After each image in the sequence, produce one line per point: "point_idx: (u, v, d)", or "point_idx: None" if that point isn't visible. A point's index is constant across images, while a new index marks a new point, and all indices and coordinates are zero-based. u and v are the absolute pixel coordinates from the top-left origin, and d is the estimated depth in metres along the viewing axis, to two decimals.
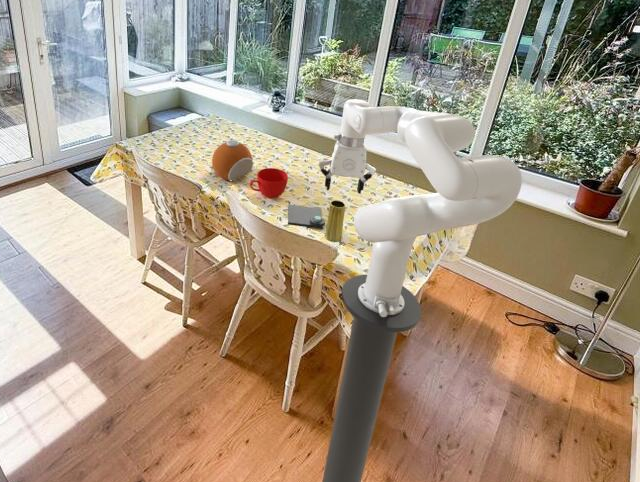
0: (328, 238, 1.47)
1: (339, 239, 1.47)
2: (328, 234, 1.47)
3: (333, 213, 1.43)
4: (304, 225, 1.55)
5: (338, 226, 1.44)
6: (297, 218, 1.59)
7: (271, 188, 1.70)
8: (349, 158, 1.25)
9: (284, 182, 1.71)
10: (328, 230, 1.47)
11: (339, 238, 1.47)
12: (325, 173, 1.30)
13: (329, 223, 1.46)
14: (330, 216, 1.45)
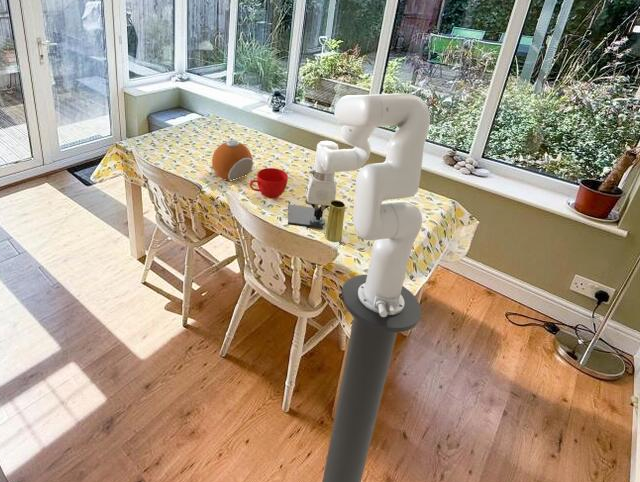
0: (328, 238, 1.47)
1: (339, 239, 1.47)
2: (328, 234, 1.47)
3: (333, 213, 1.43)
4: (304, 225, 1.55)
5: (338, 226, 1.44)
6: (297, 218, 1.59)
7: (271, 188, 1.70)
8: (322, 190, 1.49)
9: (284, 182, 1.71)
10: (328, 230, 1.47)
11: (339, 238, 1.47)
12: (313, 207, 1.54)
13: (329, 223, 1.46)
14: (330, 216, 1.45)
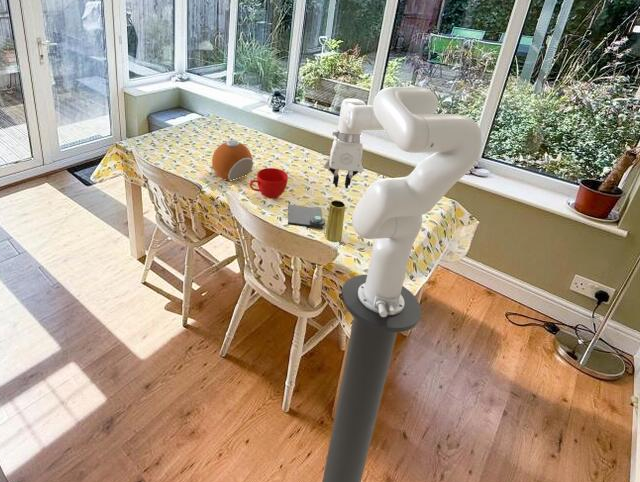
0: (328, 238, 1.47)
1: (339, 239, 1.47)
2: (328, 234, 1.47)
3: (333, 213, 1.43)
4: (304, 225, 1.55)
5: (338, 226, 1.44)
6: (297, 218, 1.59)
7: (271, 188, 1.70)
8: (346, 153, 1.35)
9: (284, 182, 1.71)
10: (328, 230, 1.47)
11: (339, 238, 1.47)
12: None
13: (329, 223, 1.46)
14: (330, 216, 1.45)
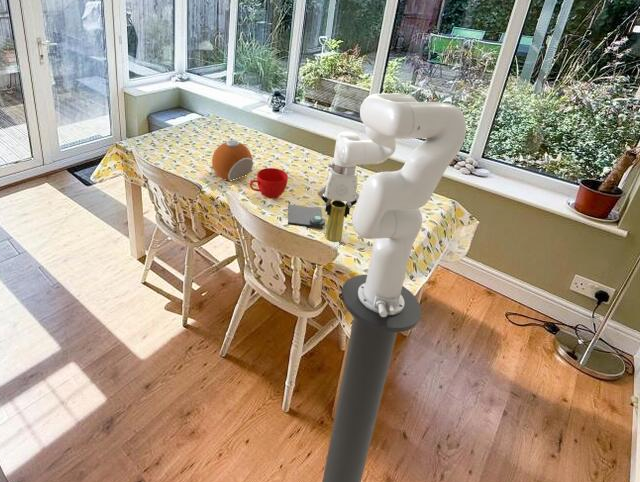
0: (328, 238, 1.47)
1: (339, 239, 1.47)
2: (328, 234, 1.47)
3: (333, 213, 1.43)
4: (304, 225, 1.55)
5: (338, 226, 1.44)
6: (297, 218, 1.59)
7: (271, 188, 1.70)
8: (342, 185, 1.39)
9: (284, 182, 1.71)
10: (328, 230, 1.47)
11: (339, 238, 1.47)
12: (324, 201, 1.44)
13: (329, 223, 1.46)
14: (330, 216, 1.45)
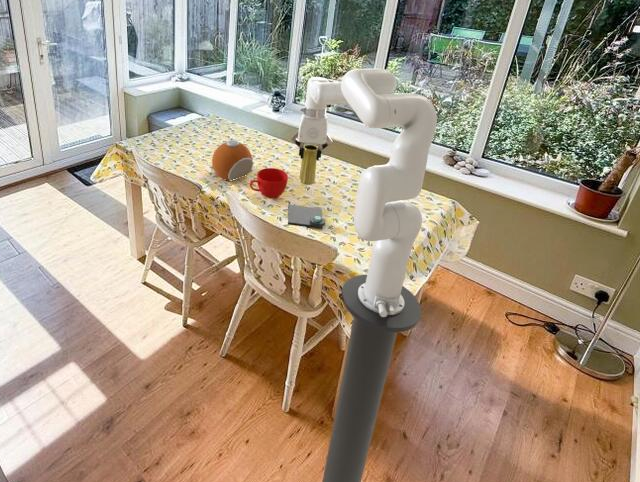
0: (301, 181, 1.55)
1: (312, 182, 1.55)
2: (302, 177, 1.55)
3: (306, 156, 1.51)
4: (304, 225, 1.55)
5: (311, 169, 1.53)
6: (297, 218, 1.59)
7: (271, 188, 1.70)
8: (313, 127, 1.47)
9: (284, 182, 1.71)
10: (302, 173, 1.55)
11: (312, 181, 1.55)
12: (298, 145, 1.52)
13: (302, 166, 1.54)
14: (303, 159, 1.53)
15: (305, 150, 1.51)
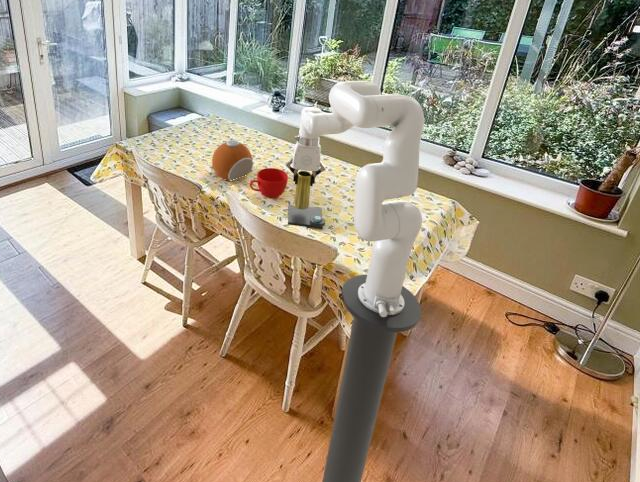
0: (296, 206, 1.61)
1: (306, 207, 1.60)
2: (296, 202, 1.60)
3: (300, 182, 1.57)
4: (304, 225, 1.55)
5: (305, 194, 1.58)
6: (297, 218, 1.59)
7: (271, 188, 1.70)
8: (306, 155, 1.52)
9: (284, 182, 1.71)
10: (296, 198, 1.60)
11: (306, 206, 1.60)
12: (292, 171, 1.58)
13: (297, 191, 1.59)
14: (297, 185, 1.58)
15: (299, 176, 1.56)
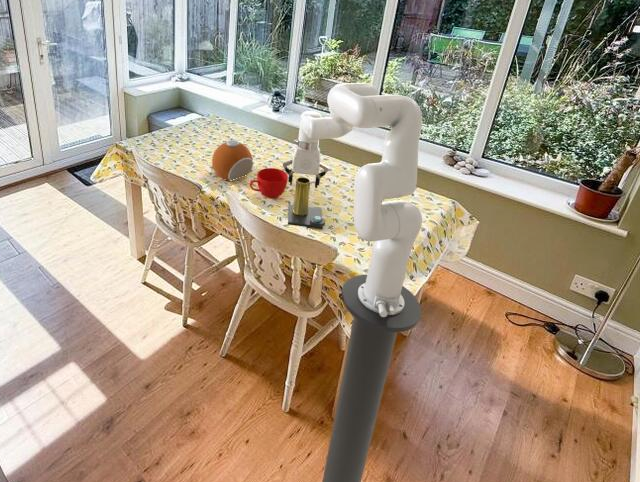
0: (295, 212, 1.62)
1: (305, 213, 1.61)
2: (295, 208, 1.61)
3: (299, 188, 1.58)
4: (304, 225, 1.55)
5: (304, 201, 1.59)
6: (297, 218, 1.59)
7: (271, 188, 1.70)
8: (306, 159, 1.53)
9: (284, 182, 1.71)
10: (295, 204, 1.61)
11: (305, 212, 1.61)
12: (288, 171, 1.58)
13: (296, 198, 1.60)
14: (296, 191, 1.59)
15: (298, 183, 1.57)
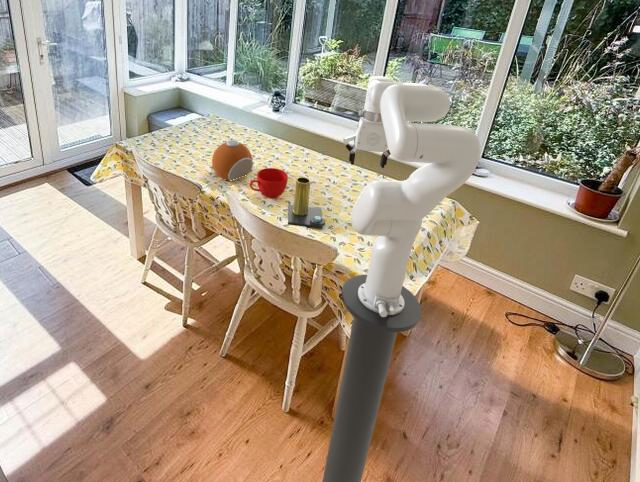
0: (295, 212, 1.62)
1: (305, 213, 1.61)
2: (295, 208, 1.61)
3: (299, 188, 1.58)
4: (304, 225, 1.55)
5: (304, 201, 1.59)
6: (297, 218, 1.59)
7: (271, 188, 1.70)
8: (373, 133, 1.30)
9: (284, 182, 1.71)
10: (295, 204, 1.61)
11: (305, 212, 1.61)
12: (349, 148, 1.35)
13: (296, 198, 1.60)
14: (296, 191, 1.59)
15: (298, 183, 1.57)
